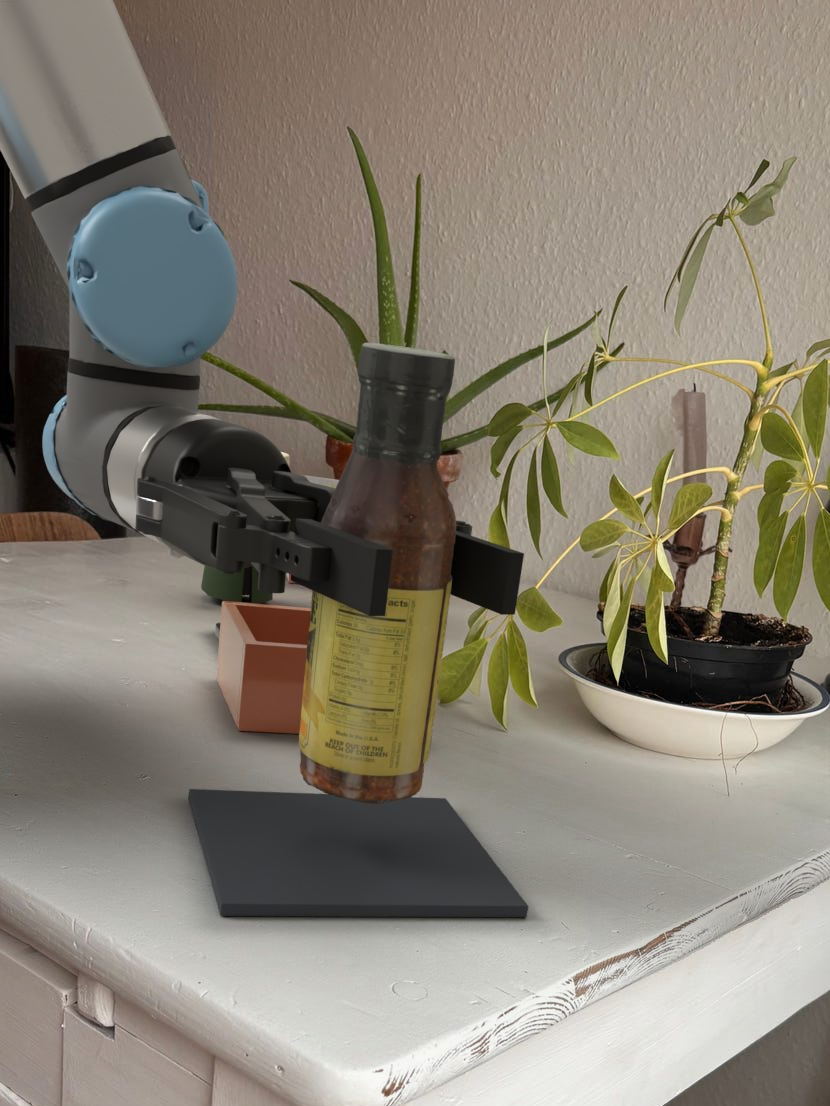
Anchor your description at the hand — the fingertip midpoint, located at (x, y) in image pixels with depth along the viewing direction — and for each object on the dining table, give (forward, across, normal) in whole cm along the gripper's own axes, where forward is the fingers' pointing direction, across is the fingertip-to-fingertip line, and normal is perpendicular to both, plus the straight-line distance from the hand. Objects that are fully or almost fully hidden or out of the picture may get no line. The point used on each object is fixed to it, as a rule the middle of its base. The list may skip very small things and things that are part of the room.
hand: (449, 583), depth 54 cm
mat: (-5, 0, -14) cm, 15 cm away
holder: (-28, -11, -15) cm, 33 cm away
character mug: (-58, -21, -15) cm, 63 cm away
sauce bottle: (-5, 0, -11) cm, 12 cm away
